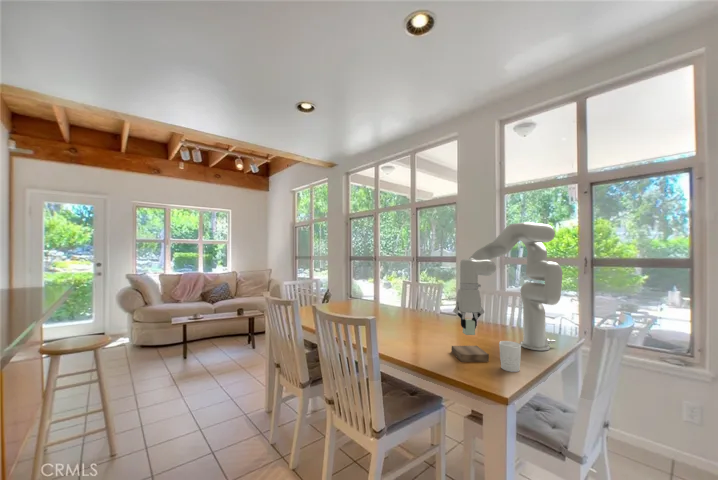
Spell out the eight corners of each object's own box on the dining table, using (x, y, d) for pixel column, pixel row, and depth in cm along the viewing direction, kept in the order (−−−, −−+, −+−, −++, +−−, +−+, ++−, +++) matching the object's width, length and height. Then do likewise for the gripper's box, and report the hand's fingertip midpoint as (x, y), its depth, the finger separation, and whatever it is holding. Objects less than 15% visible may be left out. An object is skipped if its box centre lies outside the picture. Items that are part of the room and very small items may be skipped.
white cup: (495, 365, 126) (495, 341, 126) (513, 364, 126) (513, 340, 127) (506, 373, 118) (506, 347, 118) (525, 372, 118) (525, 346, 119)
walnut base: (476, 352, 142) (476, 345, 142) (488, 361, 130) (488, 354, 130) (451, 352, 141) (451, 345, 141) (461, 361, 129) (461, 354, 129)
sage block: (471, 332, 138) (471, 319, 138) (475, 334, 134) (475, 321, 134) (462, 332, 138) (462, 319, 138) (466, 334, 134) (466, 321, 134)
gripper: (483, 286, 141) (483, 325, 140) (447, 285, 140) (447, 325, 139) (491, 288, 133) (491, 330, 132) (453, 287, 133) (453, 329, 132)
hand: (468, 327), depth 136 cm, fingers closed on sage block, 4 cm apart
